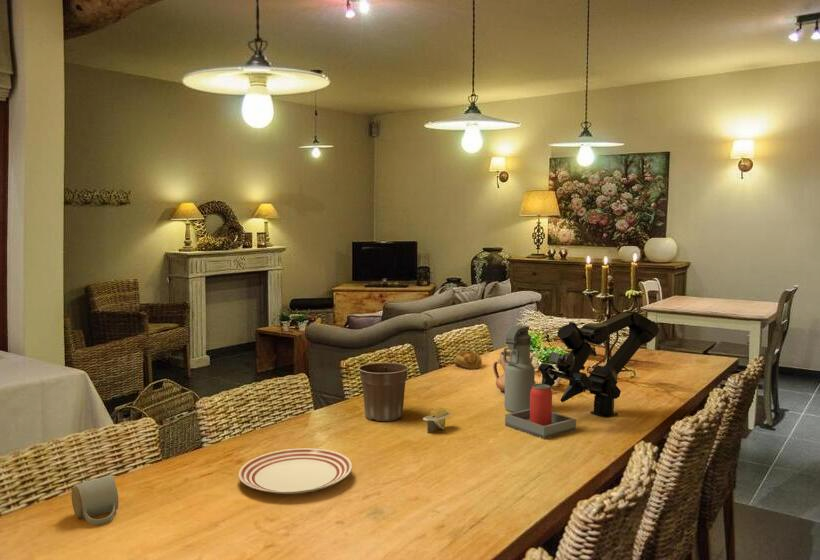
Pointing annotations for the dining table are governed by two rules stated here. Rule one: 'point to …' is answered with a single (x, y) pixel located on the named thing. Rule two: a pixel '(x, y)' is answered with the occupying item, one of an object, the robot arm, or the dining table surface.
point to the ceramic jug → (501, 380)
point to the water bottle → (518, 370)
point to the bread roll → (468, 360)
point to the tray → (523, 423)
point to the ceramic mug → (95, 499)
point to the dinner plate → (295, 470)
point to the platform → (436, 419)
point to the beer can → (541, 404)
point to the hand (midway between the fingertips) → (550, 397)
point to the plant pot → (383, 390)
